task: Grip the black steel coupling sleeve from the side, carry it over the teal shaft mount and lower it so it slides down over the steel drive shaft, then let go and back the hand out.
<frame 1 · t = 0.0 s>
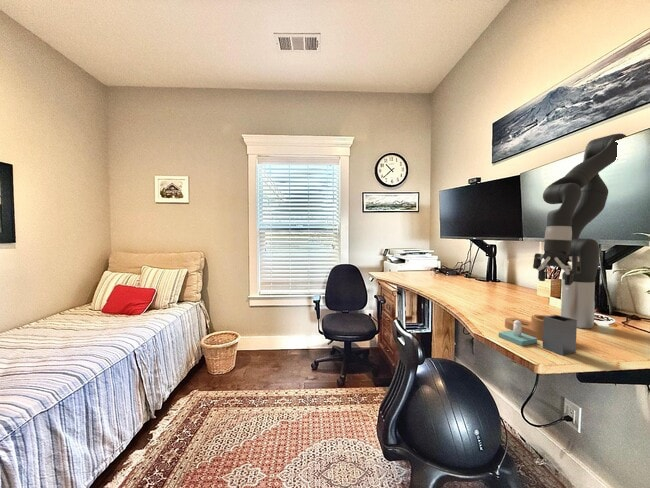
hand: (554, 283, 100), 17 cm above the table, tool pointing down, fingers open, 8 cm apart
bracket: (531, 333, 98), on the table
shaft mount: (517, 339, 92), on the table
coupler: (558, 350, 83), on the table
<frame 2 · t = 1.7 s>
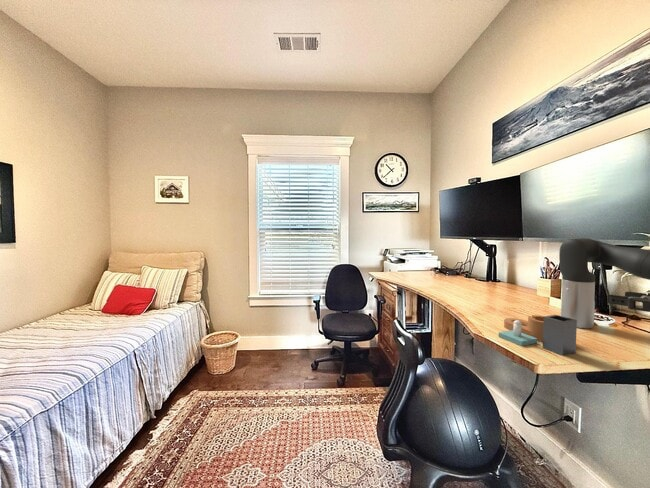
hand: (617, 296, 70), 20 cm above the table, tool horizontal, fingers open, 8 cm apart
bracket: (529, 334, 97), on the table
everything else where it was.
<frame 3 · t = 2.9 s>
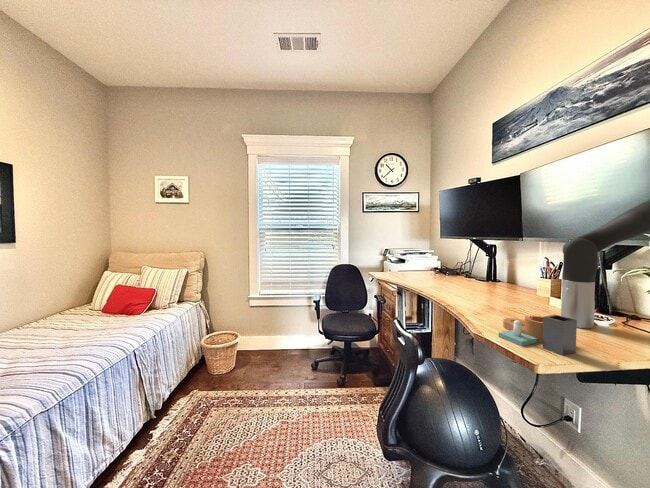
nothing on the table moved.
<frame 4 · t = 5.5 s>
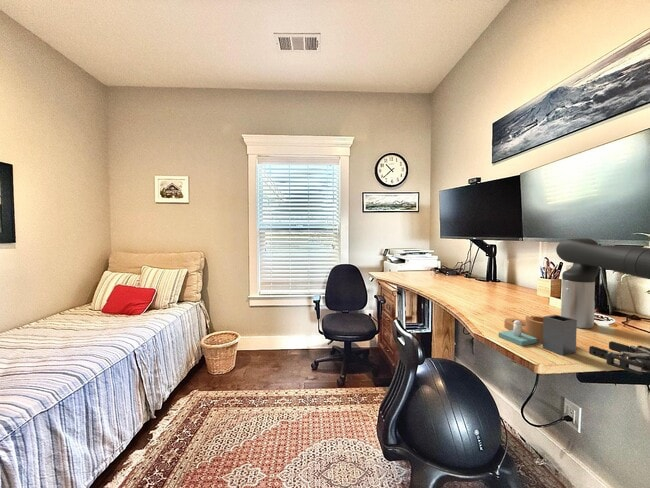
hand: (600, 347, 73), 5 cm above the table, tool horizontal, fingers open, 8 cm apart
nothing on the table moved.
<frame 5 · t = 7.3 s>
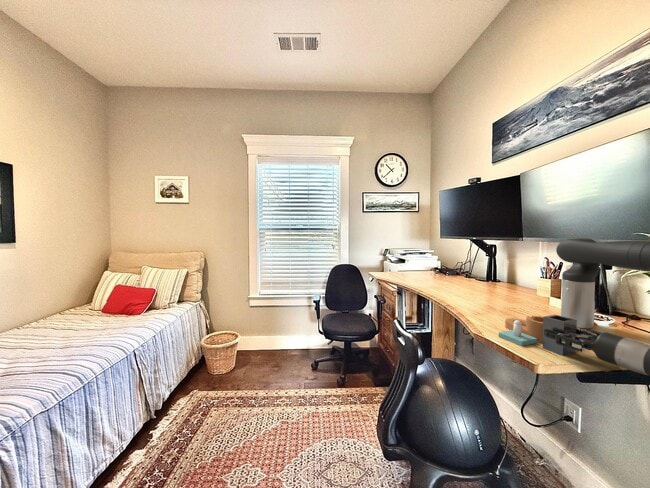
hand: (554, 330, 84), 6 cm above the table, tool horizontal, fingers open, 8 cm apart
nothing on the table moved.
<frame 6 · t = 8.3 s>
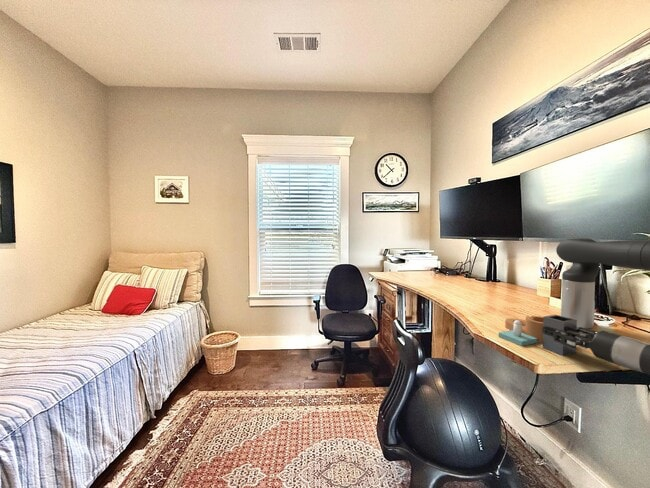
hand: (550, 328, 85), 6 cm above the table, tool horizontal, fingers closed on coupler, 5 cm apart
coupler: (558, 350, 83), on the table, touching gripper
everything else where it was.
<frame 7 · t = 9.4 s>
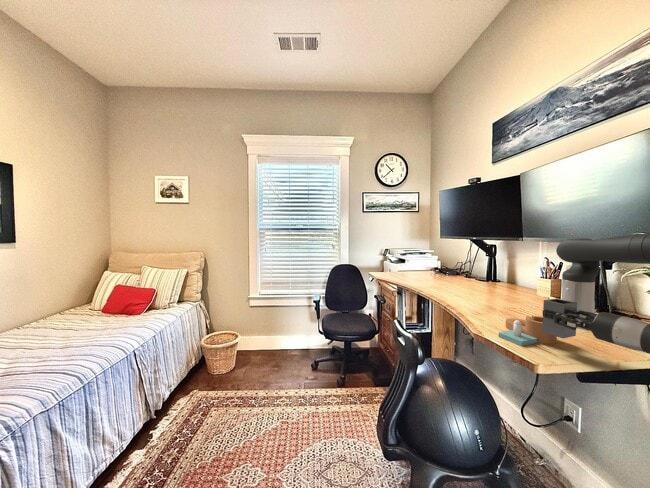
hand: (550, 311, 85), 11 cm above the table, tool horizontal, fingers closed on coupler, 5 cm apart
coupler: (558, 333, 83), point 5 cm above the table, touching gripper
everything else where it was.
when the fingers open (10 cm above the table, at t = 14.8 s): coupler drops 2 cm, resting on shaft mount.
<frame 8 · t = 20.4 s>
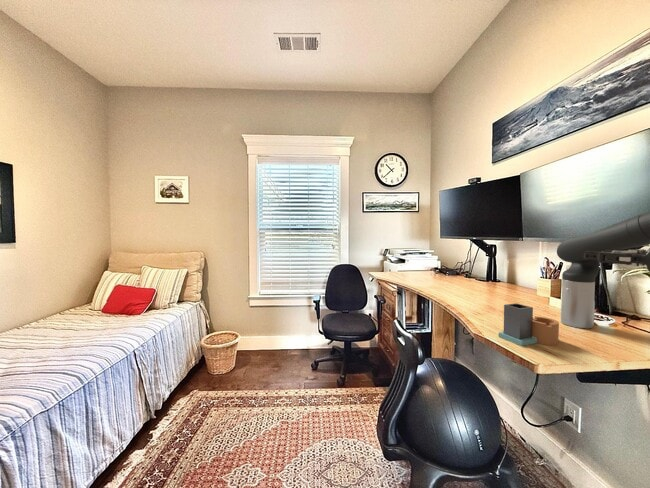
hand: (593, 254, 75), 30 cm above the table, tool horizontal, fingers open, 8 cm apart
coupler: (517, 335, 92), point 1 cm above the table, touching shaft mount
at the end: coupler 0.0 cm from the shaft mount (horizontally); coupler point 1.5 cm above the table; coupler tilted 0° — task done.
